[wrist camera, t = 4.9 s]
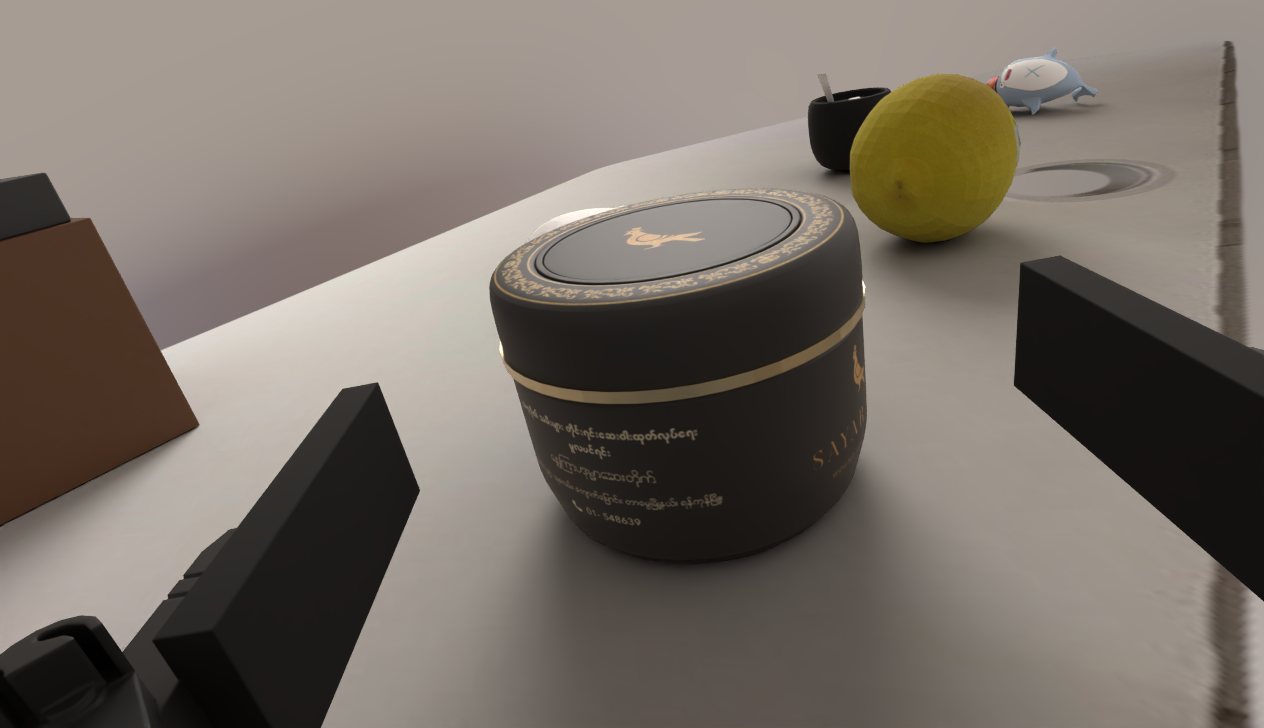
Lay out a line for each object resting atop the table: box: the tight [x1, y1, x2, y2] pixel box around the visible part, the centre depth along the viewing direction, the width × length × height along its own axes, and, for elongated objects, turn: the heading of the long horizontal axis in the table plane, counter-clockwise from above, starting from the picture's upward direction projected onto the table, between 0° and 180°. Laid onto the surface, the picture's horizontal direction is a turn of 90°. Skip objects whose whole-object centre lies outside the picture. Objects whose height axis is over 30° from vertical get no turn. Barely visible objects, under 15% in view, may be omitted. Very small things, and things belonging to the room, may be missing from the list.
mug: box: [808, 74, 891, 170], centre depth 54 cm, size 12×6×8 cm, turn 132°
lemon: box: [850, 74, 1021, 243], centre depth 36 cm, size 11×8×8 cm
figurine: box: [987, 47, 1098, 115], centre depth 60 cm, size 5×8×4 cm
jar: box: [489, 189, 867, 564], centre depth 20 cm, size 10×10×8 cm
